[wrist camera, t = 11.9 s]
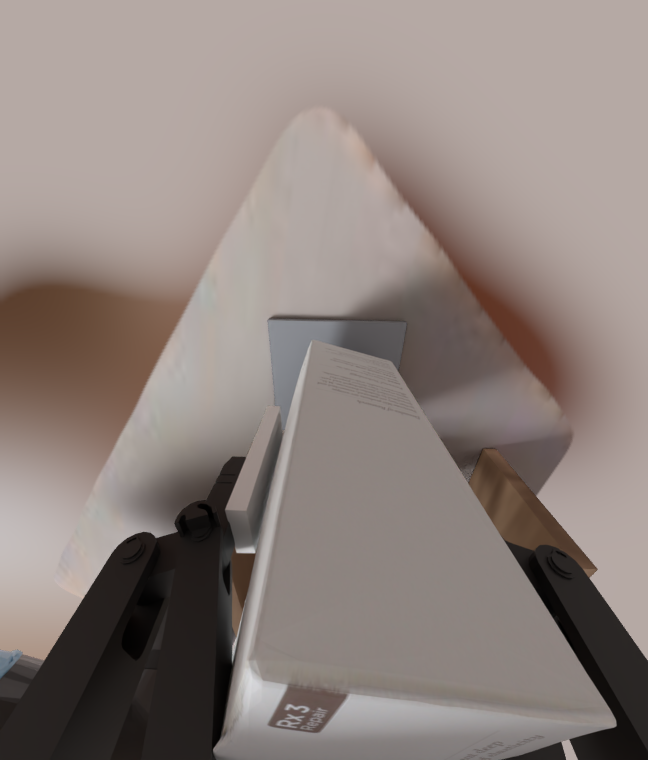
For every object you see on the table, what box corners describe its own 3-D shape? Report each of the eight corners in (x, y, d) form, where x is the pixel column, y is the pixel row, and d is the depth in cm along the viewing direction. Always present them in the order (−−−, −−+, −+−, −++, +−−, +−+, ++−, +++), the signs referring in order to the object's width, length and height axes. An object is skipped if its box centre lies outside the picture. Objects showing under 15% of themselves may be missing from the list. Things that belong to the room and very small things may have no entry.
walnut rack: (270, 558, 33) (235, 741, 21) (252, 442, 24) (165, 653, 11) (443, 564, 33) (511, 752, 20) (495, 448, 23) (685, 672, 11)
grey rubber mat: (278, 426, 23) (277, 430, 22) (269, 318, 18) (267, 320, 17) (386, 429, 22) (387, 432, 22) (405, 321, 18) (407, 323, 17)
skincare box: (353, 444, 20) (409, 804, 7) (282, 428, 19) (195, 799, 6) (394, 353, 16) (676, 766, 3) (307, 329, 16) (219, 745, 2)
